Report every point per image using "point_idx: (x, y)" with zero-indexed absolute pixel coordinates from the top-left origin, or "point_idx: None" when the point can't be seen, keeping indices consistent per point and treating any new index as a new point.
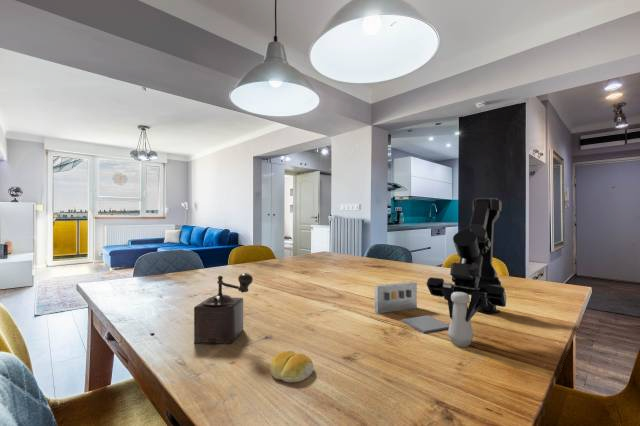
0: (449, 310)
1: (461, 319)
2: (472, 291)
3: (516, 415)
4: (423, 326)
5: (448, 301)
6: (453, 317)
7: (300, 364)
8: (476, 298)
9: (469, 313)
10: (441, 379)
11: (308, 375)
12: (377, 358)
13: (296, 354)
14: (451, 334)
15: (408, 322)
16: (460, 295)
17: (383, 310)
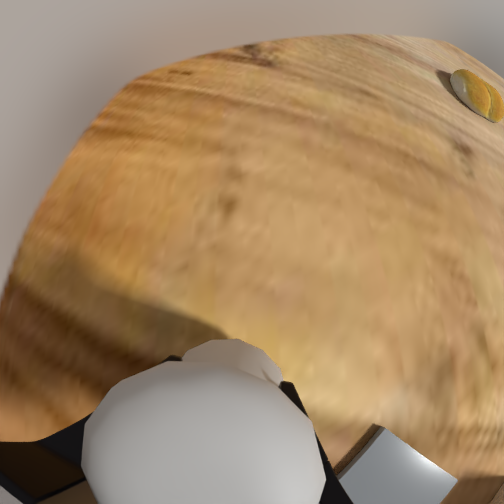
0: (303, 411)
1: (210, 359)
2: (23, 498)
3: (147, 78)
4: (388, 472)
5: (329, 477)
6: (266, 378)
7: (463, 71)
8: (33, 449)
9: None
10: (272, 115)
11: (454, 89)
12: (429, 161)
13: (484, 84)
14: (268, 357)
15: (439, 471)
16: (180, 391)
17: (500, 497)
